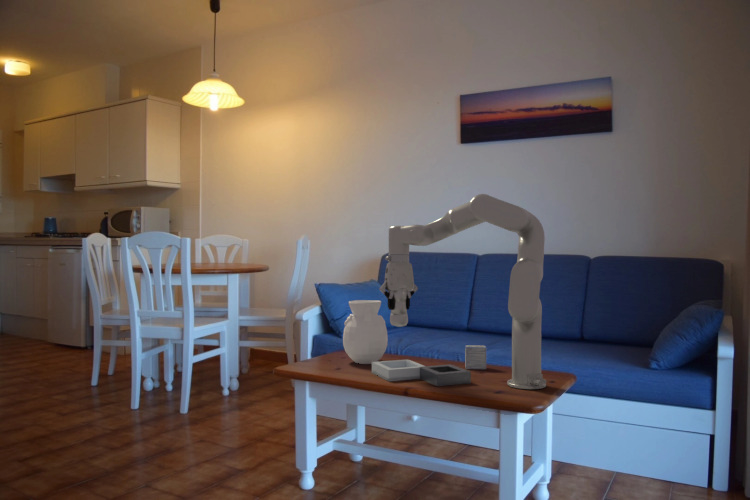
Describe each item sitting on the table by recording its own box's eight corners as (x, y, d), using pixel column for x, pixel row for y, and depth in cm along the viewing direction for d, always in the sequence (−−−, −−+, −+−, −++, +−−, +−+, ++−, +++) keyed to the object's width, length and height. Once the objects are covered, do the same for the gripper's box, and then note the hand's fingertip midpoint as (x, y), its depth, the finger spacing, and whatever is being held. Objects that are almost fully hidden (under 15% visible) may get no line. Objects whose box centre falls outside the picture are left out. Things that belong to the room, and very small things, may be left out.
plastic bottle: (408, 327, 208) (408, 271, 208) (389, 327, 208) (390, 271, 208) (407, 325, 214) (408, 271, 215) (389, 325, 214) (389, 271, 215)
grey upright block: (485, 367, 226) (485, 345, 226) (486, 369, 222) (486, 347, 222) (465, 367, 227) (464, 345, 227) (465, 369, 222) (465, 346, 222)
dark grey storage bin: (470, 383, 198) (470, 371, 198) (437, 386, 193) (437, 374, 193) (450, 375, 211) (450, 364, 211) (418, 378, 206) (418, 366, 206)
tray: (427, 378, 206) (427, 366, 206) (388, 381, 201) (388, 369, 201) (408, 369, 221) (408, 359, 221) (371, 372, 216) (371, 362, 216)
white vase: (342, 358, 246) (342, 299, 246) (385, 357, 247) (385, 299, 247) (343, 366, 227) (343, 303, 227) (390, 366, 229) (390, 302, 229)
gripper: (381, 259, 205) (381, 311, 204) (424, 259, 211) (424, 309, 211) (373, 259, 212) (373, 309, 211) (415, 259, 218) (415, 307, 218)
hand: (398, 308), depth 211 cm, fingers closed on plastic bottle, 5 cm apart
